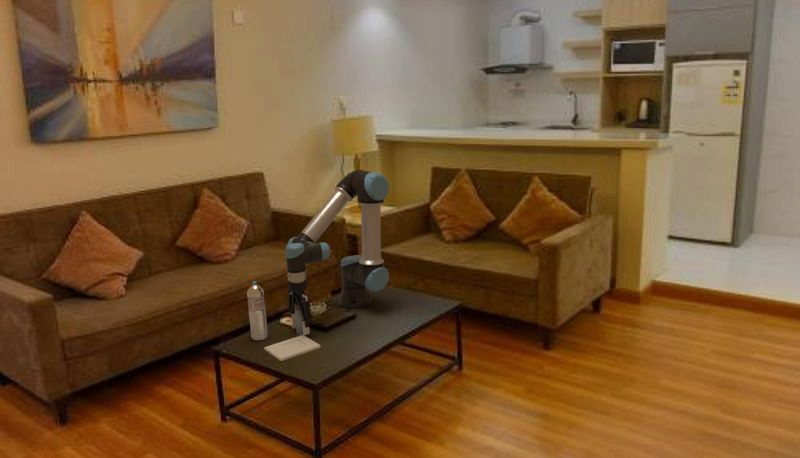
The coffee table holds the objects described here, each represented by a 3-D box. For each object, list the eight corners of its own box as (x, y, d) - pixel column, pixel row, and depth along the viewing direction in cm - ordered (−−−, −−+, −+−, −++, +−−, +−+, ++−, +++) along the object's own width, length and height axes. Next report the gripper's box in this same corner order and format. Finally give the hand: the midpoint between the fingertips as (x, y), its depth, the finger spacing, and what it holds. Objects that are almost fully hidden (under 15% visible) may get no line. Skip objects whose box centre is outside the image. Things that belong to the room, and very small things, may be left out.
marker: (303, 331, 270) (300, 300, 266) (308, 334, 267) (305, 303, 263) (294, 334, 267) (292, 303, 264) (299, 337, 264) (297, 306, 261)
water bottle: (251, 342, 261) (246, 285, 254) (251, 335, 267) (245, 280, 261) (268, 339, 262) (263, 283, 256) (267, 333, 269) (262, 278, 263)
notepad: (302, 337, 264) (302, 334, 264) (320, 347, 254) (320, 345, 253) (264, 349, 253) (264, 347, 253) (281, 361, 243) (280, 358, 242)
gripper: (277, 276, 267) (281, 325, 272) (302, 288, 251) (306, 340, 256) (292, 272, 271) (296, 321, 277) (318, 284, 255) (321, 335, 261)
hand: (301, 330), depth 267 cm, fingers open, 8 cm apart
